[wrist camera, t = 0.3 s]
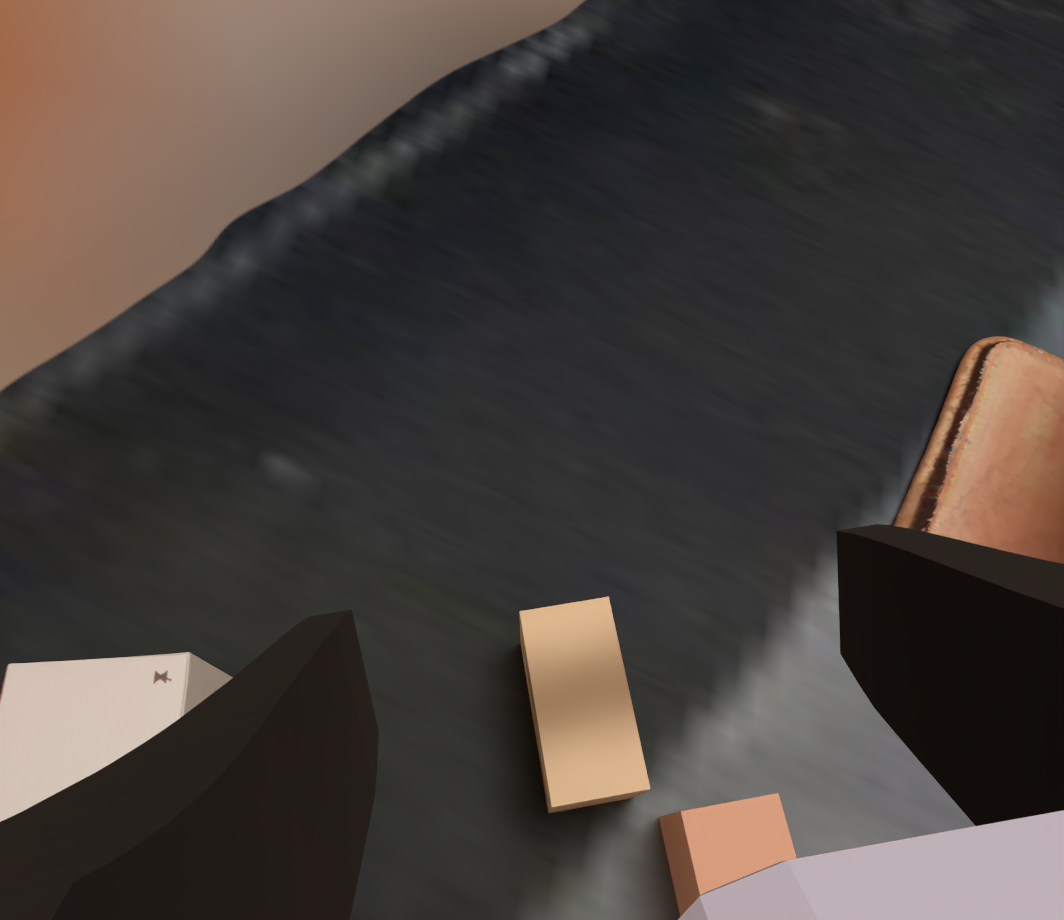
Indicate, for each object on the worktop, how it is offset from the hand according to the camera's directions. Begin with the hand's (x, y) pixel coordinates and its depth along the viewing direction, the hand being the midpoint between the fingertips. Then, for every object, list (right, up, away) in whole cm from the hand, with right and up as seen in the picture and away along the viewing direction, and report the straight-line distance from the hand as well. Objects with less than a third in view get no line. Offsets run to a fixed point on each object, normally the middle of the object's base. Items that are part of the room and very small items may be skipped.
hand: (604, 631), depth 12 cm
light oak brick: (+1, -10, +27) cm, 29 cm away
